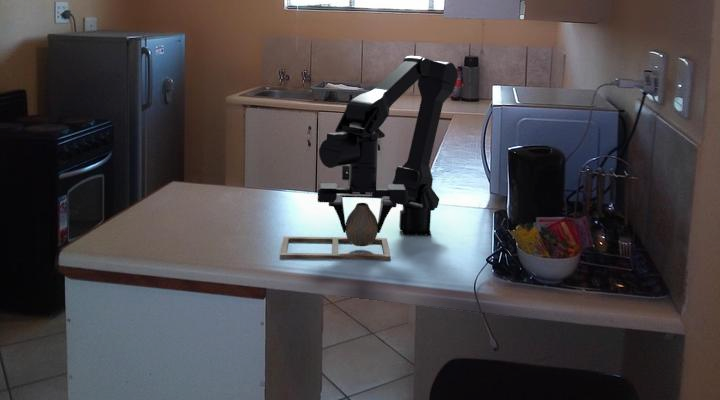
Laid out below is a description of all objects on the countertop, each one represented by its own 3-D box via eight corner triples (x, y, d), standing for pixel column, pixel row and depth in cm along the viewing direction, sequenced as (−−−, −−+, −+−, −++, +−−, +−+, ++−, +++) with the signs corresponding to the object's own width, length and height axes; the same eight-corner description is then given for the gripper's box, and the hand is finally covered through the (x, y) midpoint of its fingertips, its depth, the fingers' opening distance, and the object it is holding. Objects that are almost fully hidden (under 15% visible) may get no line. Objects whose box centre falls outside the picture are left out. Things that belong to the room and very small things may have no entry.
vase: (358, 236, 168) (360, 197, 166) (383, 243, 164) (385, 204, 161) (338, 243, 163) (339, 204, 160) (363, 251, 159) (364, 210, 156)
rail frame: (386, 241, 170) (386, 237, 169) (390, 260, 158) (390, 255, 158) (283, 239, 169) (283, 235, 168) (279, 258, 157) (279, 254, 157)
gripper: (404, 153, 167) (401, 221, 171) (319, 151, 166) (318, 220, 170) (409, 164, 156) (406, 237, 160) (318, 163, 155) (317, 236, 159)
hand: (361, 232), depth 163 cm, fingers closed on vase, 7 cm apart
